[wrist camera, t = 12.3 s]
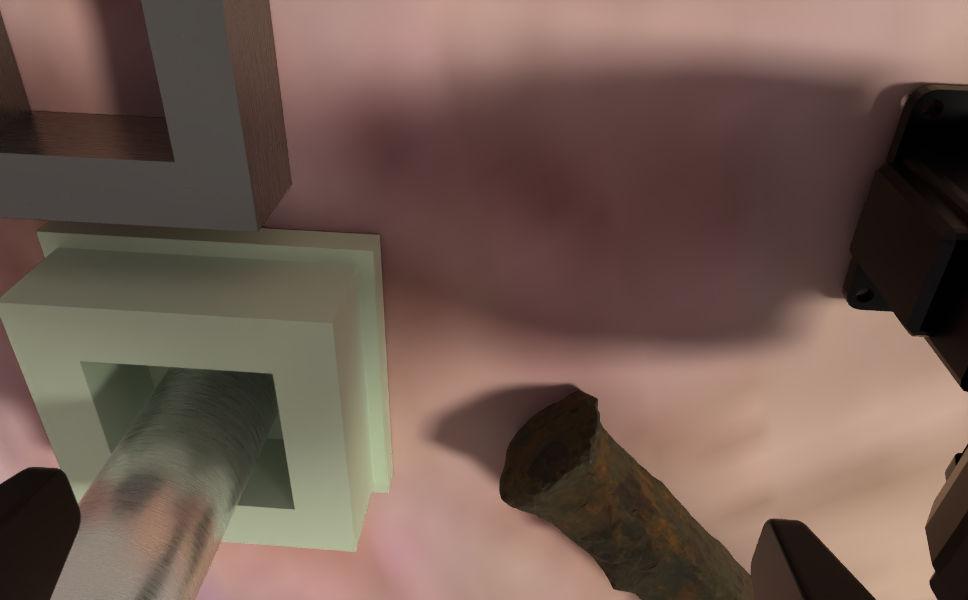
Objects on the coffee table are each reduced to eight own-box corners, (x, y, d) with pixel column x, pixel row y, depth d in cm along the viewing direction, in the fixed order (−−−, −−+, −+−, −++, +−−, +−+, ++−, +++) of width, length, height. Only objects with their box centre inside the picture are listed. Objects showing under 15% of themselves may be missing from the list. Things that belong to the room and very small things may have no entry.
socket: (245, -189, 17) (192, -190, 14) (291, 184, 21) (257, 231, 19) (-142, -201, 17) (-262, -205, 14) (-9, 167, 22) (-82, 212, 19)
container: (379, 234, 22) (350, 308, 19) (392, 472, 28) (372, 562, 24) (54, 216, 23) (-31, 285, 19) (130, 454, 28) (74, 540, 25)
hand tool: (495, 424, 26) (486, 529, 22) (588, 371, 25) (596, 475, 21) (758, 677, 34) (786, 789, 30) (843, 649, 32) (884, 763, 28)
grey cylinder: (245, 316, 23) (-23, 771, 12) (308, 399, 25) (122, 863, 14) (155, 352, 24) (-167, 800, 13) (221, 429, 26) (-15, 881, 15)
